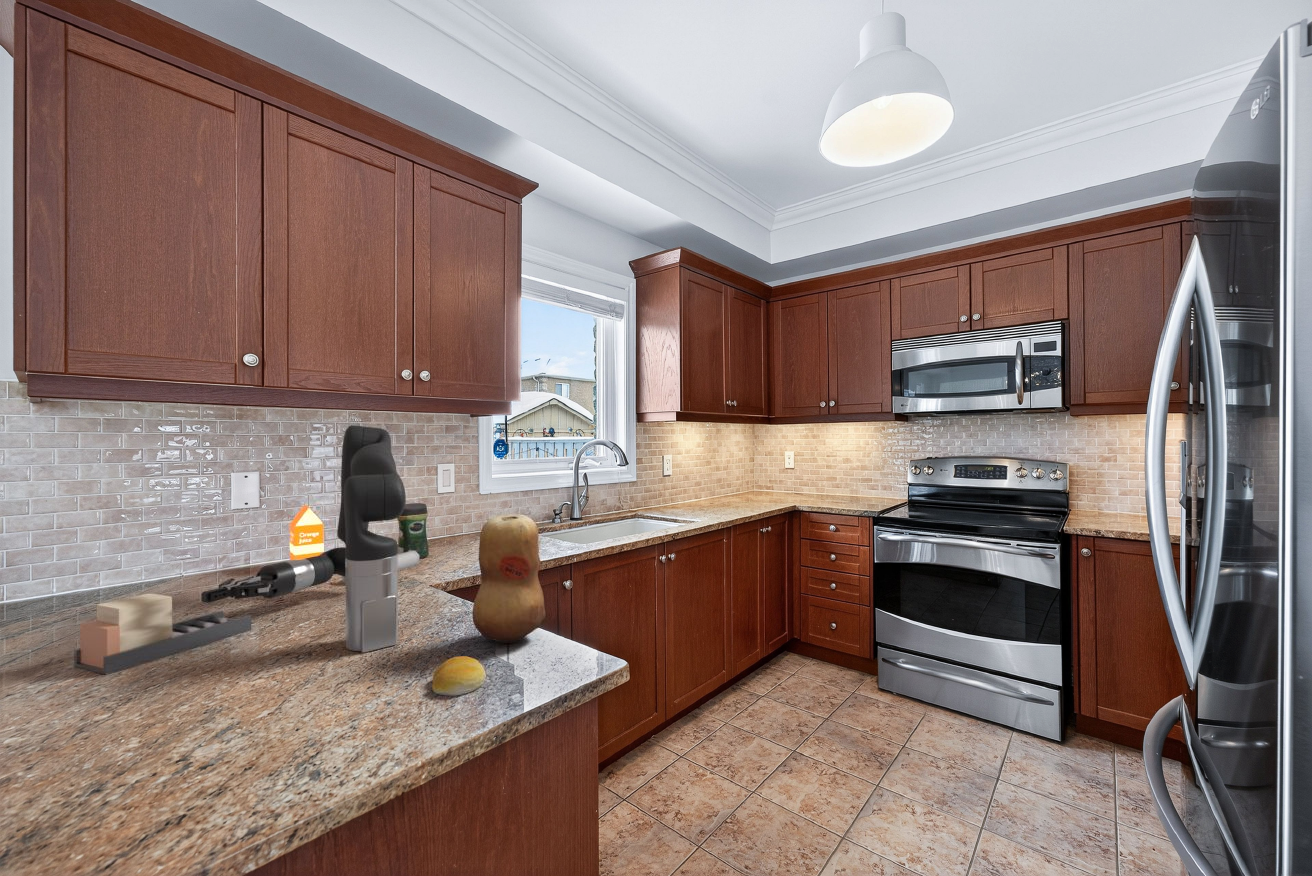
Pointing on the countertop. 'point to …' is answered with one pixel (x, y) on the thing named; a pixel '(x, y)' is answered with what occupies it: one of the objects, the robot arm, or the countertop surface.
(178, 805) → the countertop surface
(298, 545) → the orange juice
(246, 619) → the roller bed
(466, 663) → the bread roll
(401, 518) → the coffee jar
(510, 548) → the butternut squash
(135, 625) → the tan wooden block
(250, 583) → the robot arm
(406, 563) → the tube
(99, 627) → the end stop
